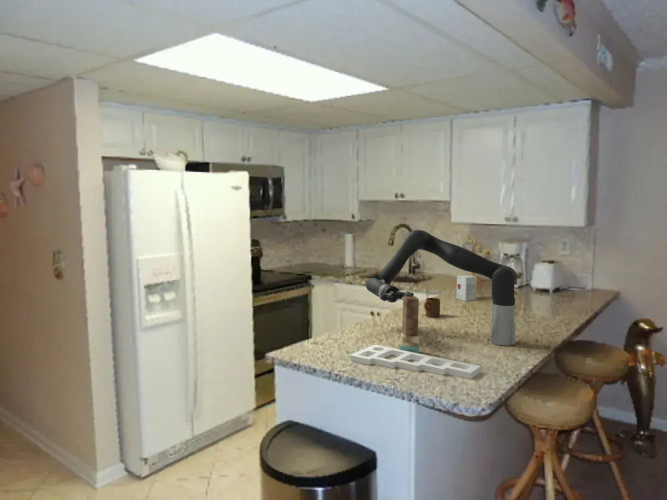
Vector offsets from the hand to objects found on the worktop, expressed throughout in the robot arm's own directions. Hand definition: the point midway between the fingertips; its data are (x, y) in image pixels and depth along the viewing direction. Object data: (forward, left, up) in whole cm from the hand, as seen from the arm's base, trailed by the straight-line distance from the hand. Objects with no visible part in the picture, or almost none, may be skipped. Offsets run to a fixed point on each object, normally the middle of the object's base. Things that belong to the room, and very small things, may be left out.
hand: (403, 299), depth 208 cm
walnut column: (-3, +11, -12) cm, 17 cm away
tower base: (-3, +11, -20) cm, 23 cm away
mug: (-13, -56, -20) cm, 61 cm away
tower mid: (-3, +11, -16) cm, 20 cm away
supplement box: (-36, -109, -20) cm, 117 cm away
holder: (-5, +27, -21) cm, 34 cm away
